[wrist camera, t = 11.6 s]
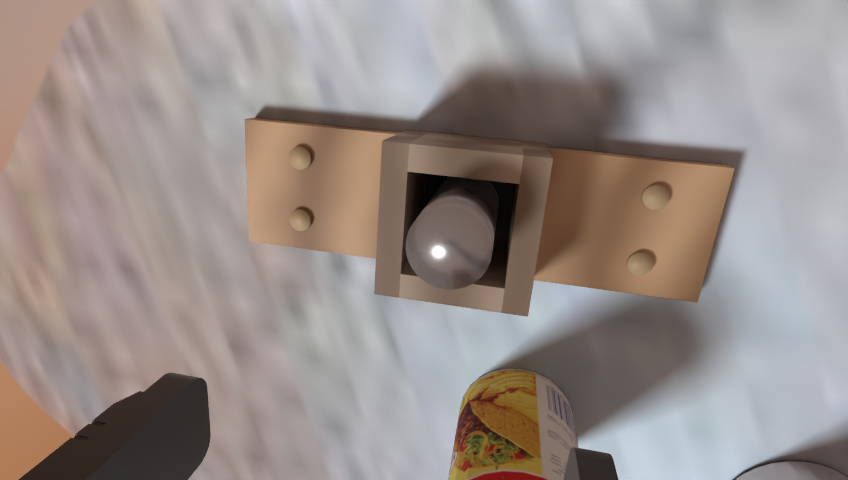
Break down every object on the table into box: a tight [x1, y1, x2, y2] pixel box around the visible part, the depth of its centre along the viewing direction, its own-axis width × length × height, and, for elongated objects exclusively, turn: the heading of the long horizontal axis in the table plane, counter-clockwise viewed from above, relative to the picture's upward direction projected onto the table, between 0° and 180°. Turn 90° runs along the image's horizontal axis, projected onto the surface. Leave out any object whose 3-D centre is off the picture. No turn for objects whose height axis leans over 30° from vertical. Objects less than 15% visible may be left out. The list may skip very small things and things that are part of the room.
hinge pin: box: [406, 176, 499, 290], centre depth 27 cm, size 4×4×9 cm
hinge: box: [245, 118, 735, 316], centre depth 28 cm, size 28×8×6 cm, turn 86°
